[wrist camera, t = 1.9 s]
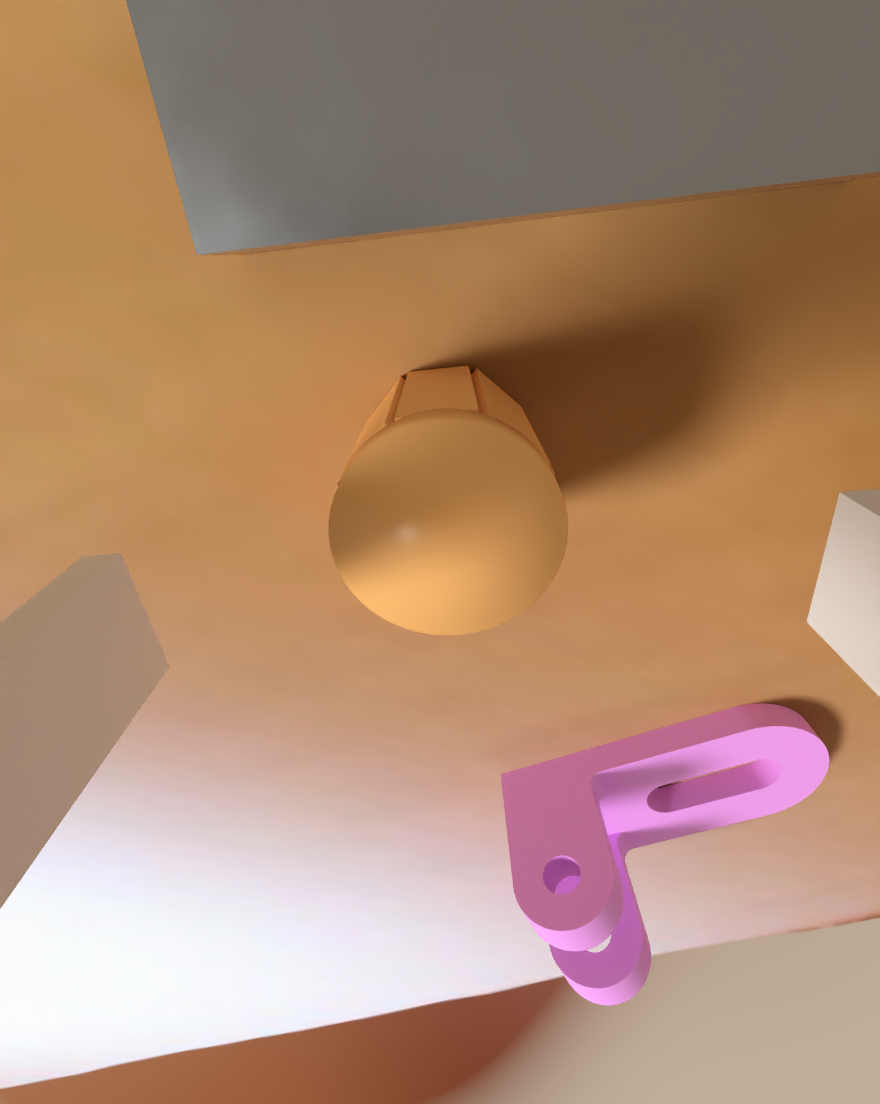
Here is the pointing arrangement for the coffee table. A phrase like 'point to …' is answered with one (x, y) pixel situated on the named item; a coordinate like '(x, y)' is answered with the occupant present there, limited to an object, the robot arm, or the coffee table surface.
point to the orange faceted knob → (448, 507)
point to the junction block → (497, 109)
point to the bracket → (640, 826)
